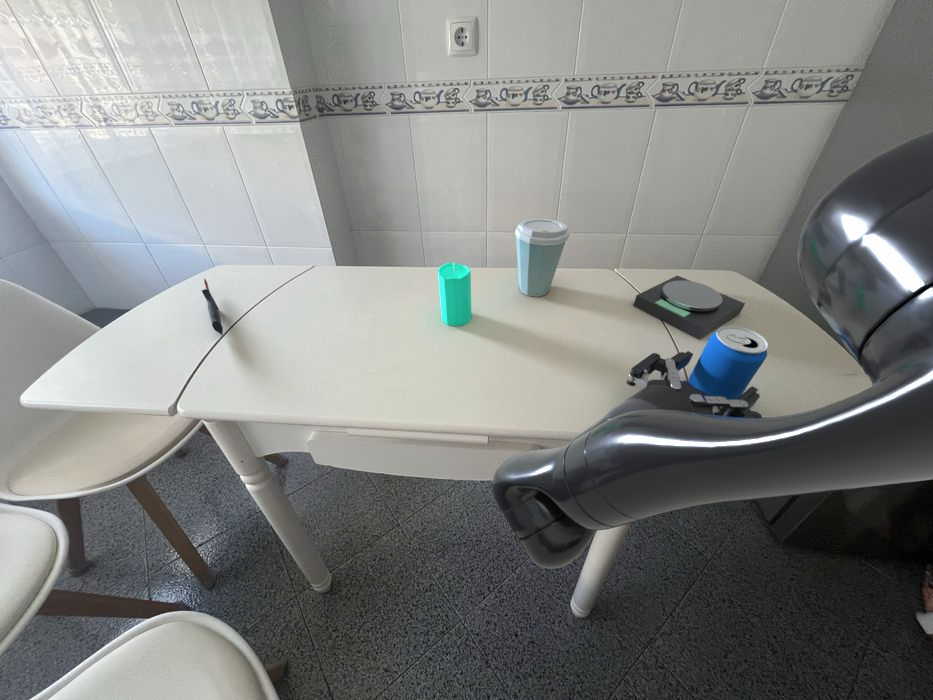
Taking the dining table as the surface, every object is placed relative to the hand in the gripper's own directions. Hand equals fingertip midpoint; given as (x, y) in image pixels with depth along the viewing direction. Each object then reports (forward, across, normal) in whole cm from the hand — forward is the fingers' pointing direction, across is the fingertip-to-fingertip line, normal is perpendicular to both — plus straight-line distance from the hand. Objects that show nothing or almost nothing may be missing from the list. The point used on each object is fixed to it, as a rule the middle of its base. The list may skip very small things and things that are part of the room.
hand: (718, 373), depth 49 cm
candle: (-17, +41, +7) cm, 44 cm away
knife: (-57, +73, +7) cm, 93 cm away
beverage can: (+1, 0, +7) cm, 7 cm away
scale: (+22, +16, +7) cm, 28 cm away
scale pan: (+22, +16, +4) cm, 27 cm away
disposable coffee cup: (+3, +39, +7) cm, 40 cm away
